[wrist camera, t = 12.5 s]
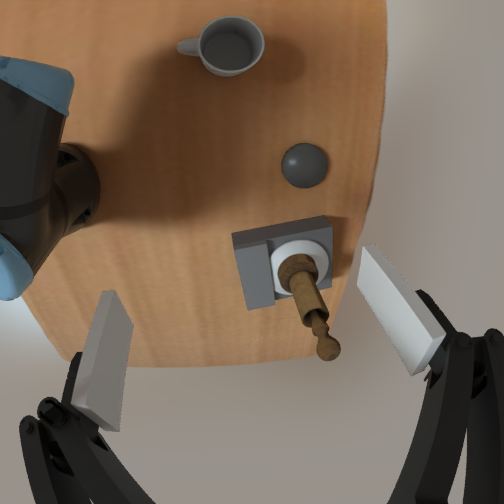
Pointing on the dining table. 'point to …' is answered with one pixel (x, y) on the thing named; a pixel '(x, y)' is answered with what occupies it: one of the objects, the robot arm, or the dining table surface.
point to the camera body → (281, 256)
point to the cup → (226, 45)
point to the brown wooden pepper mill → (308, 301)
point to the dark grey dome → (304, 165)
